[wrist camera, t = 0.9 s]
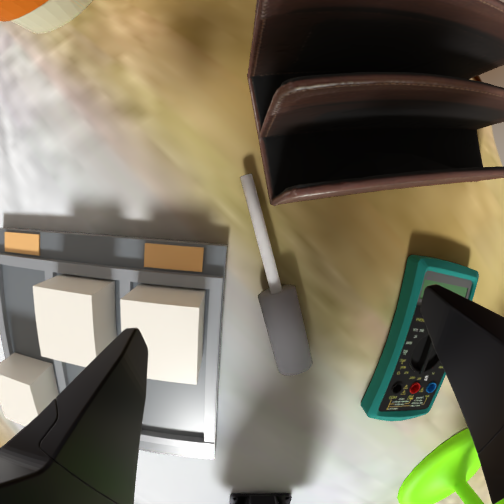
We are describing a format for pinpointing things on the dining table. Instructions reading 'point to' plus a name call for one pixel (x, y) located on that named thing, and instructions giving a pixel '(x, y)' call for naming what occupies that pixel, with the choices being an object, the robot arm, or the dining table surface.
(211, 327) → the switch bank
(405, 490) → the wineglass
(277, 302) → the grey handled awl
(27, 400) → the cream square block
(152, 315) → the white block
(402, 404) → the digital multimeter
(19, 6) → the reusable coffee cup
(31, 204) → the dining table surface
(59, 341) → the cream block
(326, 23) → the letter holder
